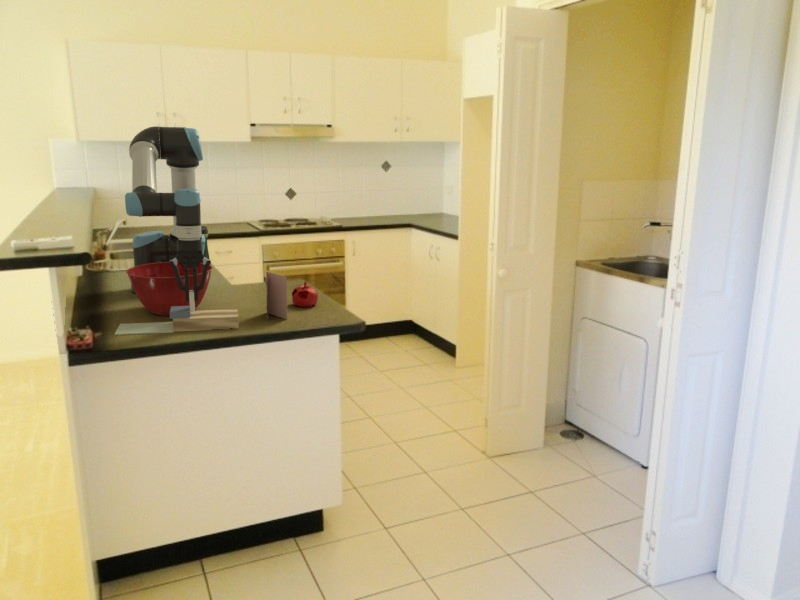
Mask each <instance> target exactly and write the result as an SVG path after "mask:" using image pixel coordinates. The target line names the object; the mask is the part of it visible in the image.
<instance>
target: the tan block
mask: <svg viewBox="0 0 800 600" xmlns="http://www.w3.org/2000/svg"><path fill="white" fill-rule="evenodd" d="M172 322H173V330H174V332H173V333H175V332H191V331H192V332H196V331H213V330H212V329H223V330H231V329H230V328H240V327H239V323H240V322H239V310H238V308H230V309H204V310H195V312H191V313H190V318H175V319H172Z"/></svg>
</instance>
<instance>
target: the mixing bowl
mask: <svg viewBox="0 0 800 600" xmlns="http://www.w3.org/2000/svg"><path fill="white" fill-rule="evenodd" d="M177 267H178V271H179V274H180V277H181V280H182V283H183V286H185V275H184V267H183V266H182V265H181V264H180V263H179V262H177ZM203 268H204V264H203V263H200V264H199V266H198V267H197V282H198V286H199V285H200V282H201V277H202V272H203ZM212 270H213V266H212V265H211V264H210V265H209V267H208V269H207V273H206V278H205V283H204V287H203V289H202V290H199V291H198V301H195V309H197V308H198V307H199V306H200V304H201V303H202V301H203V299H204V297H205V295H206V292H207V290H208V286H209V283H210V279H211V275H212ZM125 272H126V274H127V275H128V279H129V282H130V286H131V285H132V287H133V289H134V291H135V293H134V294H135V295H136V296H137V298H138V299H139V301H140V303H141V304H142V306H143V307H144V308H145V309H146V310H147V311H149V312H151V313H152V314H154V315H156V316H163V317H164V316H165V317H170V309H171V306H190V301H186V295H185V291H183V290H180V289H179V286H178V283H177V280H176V277H175V274H174V271H173V268H172V267H171V265H170V264H169V262H160V263H150V264H144V265H138V266H135V267H134V266H132V267H129V268H127V269H126V271H125ZM189 290H194V286H193V268H191V267H190V268H189Z"/></svg>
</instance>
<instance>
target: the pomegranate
mask: <svg viewBox="0 0 800 600" xmlns="http://www.w3.org/2000/svg"><path fill="white" fill-rule="evenodd" d="M303 283H304V284H299V285H297V286H295V288H294V289H293V290H292V292H291V300H292V304H293V305H294V306H296V307H301V308H307V307H308V308H310V307H313V305H314V306H315V305H317V303H318V301H319V296H318V293H317V291H316V290H315V288H312V287H315V285H308V284H307V283H308V282H307V281H306V280H305V281H304V282H303Z"/></svg>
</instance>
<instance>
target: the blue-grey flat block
mask: <svg viewBox="0 0 800 600" xmlns="http://www.w3.org/2000/svg"><path fill="white" fill-rule="evenodd" d="M190 313H191V312H190V306H171V309H170V316H169V319H170V320H171V319H172V320H173V319H175V318H190Z"/></svg>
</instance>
